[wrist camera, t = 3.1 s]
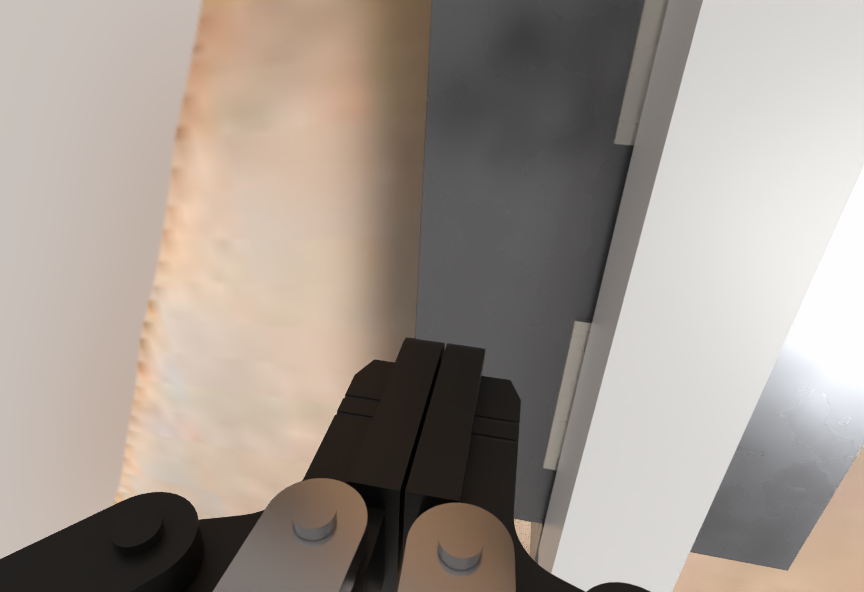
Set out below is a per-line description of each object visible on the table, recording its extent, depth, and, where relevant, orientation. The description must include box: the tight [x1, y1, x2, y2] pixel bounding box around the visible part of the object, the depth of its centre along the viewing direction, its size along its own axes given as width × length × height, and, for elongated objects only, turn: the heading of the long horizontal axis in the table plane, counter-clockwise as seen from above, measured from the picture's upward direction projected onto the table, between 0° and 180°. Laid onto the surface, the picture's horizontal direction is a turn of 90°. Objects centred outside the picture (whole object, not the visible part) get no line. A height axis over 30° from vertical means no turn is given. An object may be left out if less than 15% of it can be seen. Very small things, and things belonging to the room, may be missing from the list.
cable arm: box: [538, 0, 864, 592], centre depth 17 cm, size 28×4×4 cm, turn 177°
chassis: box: [415, 0, 864, 571], centre depth 20 cm, size 30×16×4 cm, turn 177°
